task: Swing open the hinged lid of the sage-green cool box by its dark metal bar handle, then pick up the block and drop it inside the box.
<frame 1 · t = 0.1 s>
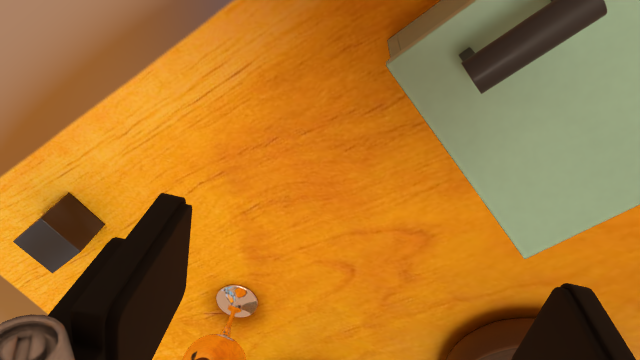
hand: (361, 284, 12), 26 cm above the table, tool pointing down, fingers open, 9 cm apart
wineglass: (237, 299, 48), on the table
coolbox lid: (573, 125, 24), point 11 cm above the table, hinge at 0.0°
vase: (513, 359, 49), on the table
block: (73, 219, 45), on the table
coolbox: (516, 73, 34), on the table
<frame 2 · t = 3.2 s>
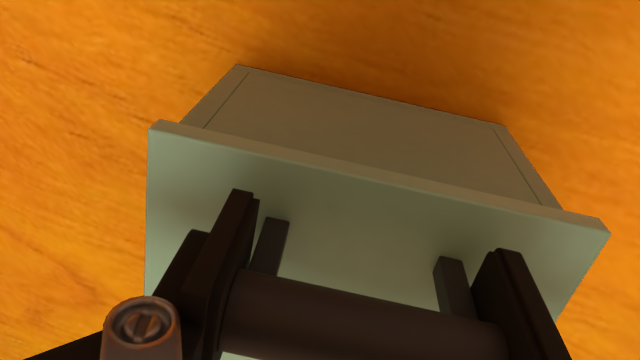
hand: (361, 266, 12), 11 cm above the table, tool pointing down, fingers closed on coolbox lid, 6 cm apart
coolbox: (334, 231, 25), on the table
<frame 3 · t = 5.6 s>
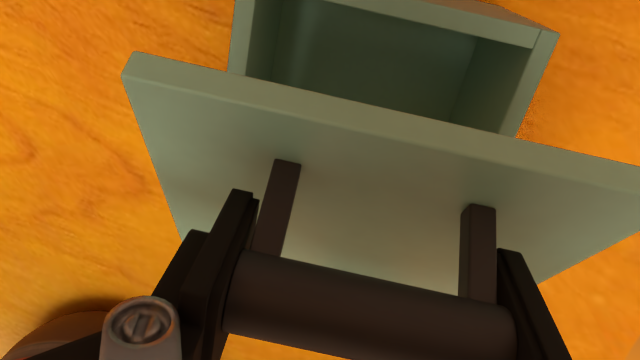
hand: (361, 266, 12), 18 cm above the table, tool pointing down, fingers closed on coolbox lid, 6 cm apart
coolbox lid: (335, 309, 16), point 15 cm above the table, hinge at 32.9°, touching gripper
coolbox: (355, 112, 29), on the table
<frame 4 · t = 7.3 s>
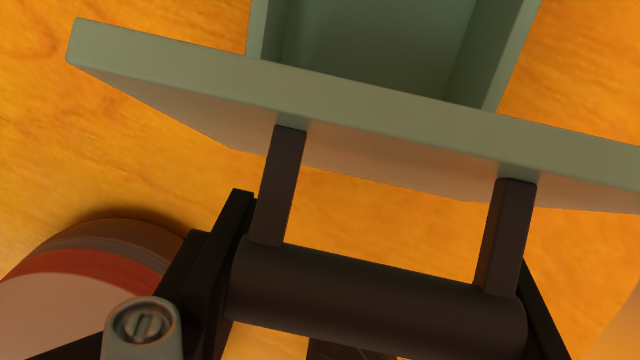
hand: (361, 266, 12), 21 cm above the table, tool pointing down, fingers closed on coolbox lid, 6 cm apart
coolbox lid: (357, 215, 16), point 17 cm above the table, hinge at 60.1°, touching gripper
vase: (145, 277, 42), on the table
travel mug: (352, 319, 42), on the table
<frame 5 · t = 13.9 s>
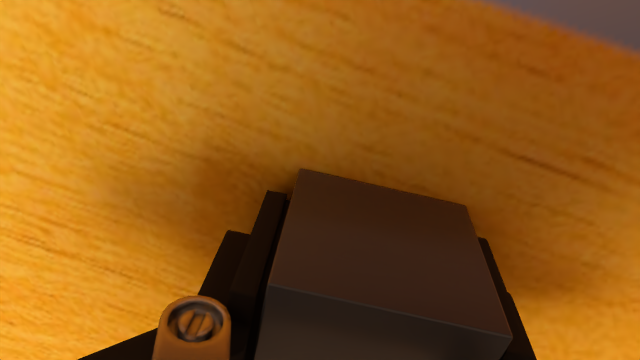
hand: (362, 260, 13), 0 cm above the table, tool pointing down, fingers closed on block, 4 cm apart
block: (362, 252, 13), on the table, touching gripper
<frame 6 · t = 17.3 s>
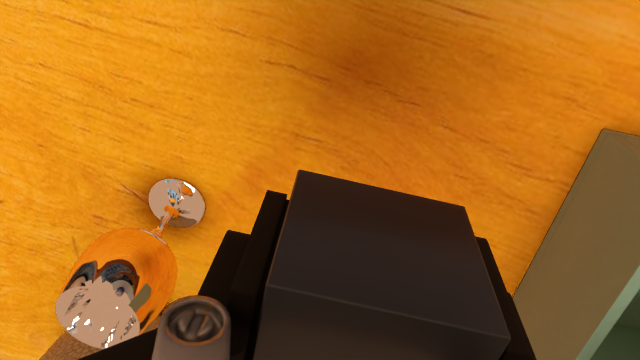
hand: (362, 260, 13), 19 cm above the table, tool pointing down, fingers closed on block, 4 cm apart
planter: (142, 333, 43), on the table
wineglass: (178, 202, 36), on the table
block: (361, 253, 13), point 19 cm above the table, touching gripper
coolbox: (634, 243, 34), on the table
when the fingers open (15 cm above the table, at t = 20.9 s): block drops 14 cm, resting on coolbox.
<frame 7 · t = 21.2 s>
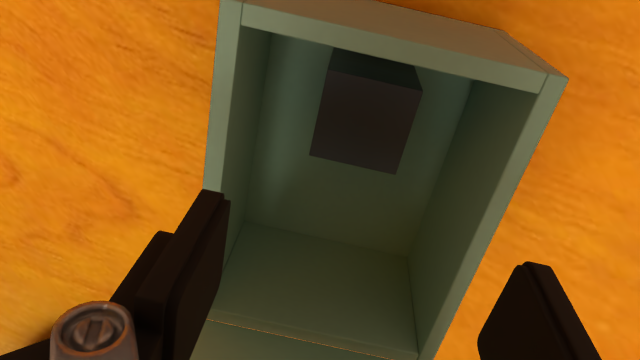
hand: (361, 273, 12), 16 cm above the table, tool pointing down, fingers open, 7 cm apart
block: (363, 95, 25), point 1 cm above the table, touching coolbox
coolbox: (351, 138, 28), on the table
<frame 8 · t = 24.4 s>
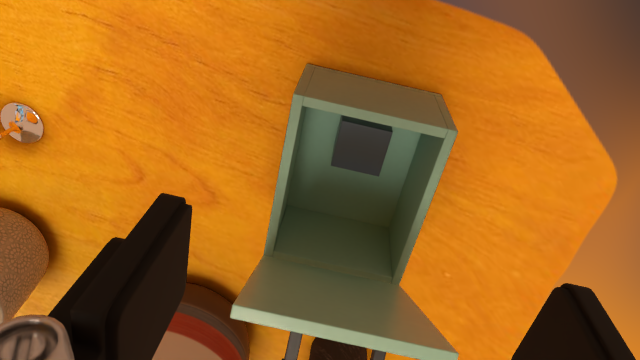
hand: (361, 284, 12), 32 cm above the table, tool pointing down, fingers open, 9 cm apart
planter: (14, 234, 55), on the table
wineglass: (23, 122, 47), on the table
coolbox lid: (329, 326, 33), point 17 cm above the table, hinge at 60.5°
vase: (192, 319, 59), on the table
block: (361, 129, 43), point 1 cm above the table, touching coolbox
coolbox: (354, 154, 46), on the table
travel mug: (338, 348, 59), on the table
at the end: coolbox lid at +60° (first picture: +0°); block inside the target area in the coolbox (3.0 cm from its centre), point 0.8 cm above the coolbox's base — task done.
